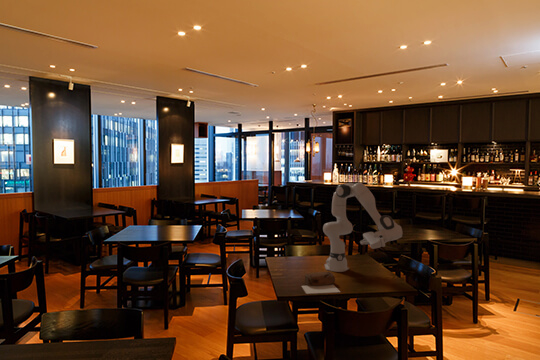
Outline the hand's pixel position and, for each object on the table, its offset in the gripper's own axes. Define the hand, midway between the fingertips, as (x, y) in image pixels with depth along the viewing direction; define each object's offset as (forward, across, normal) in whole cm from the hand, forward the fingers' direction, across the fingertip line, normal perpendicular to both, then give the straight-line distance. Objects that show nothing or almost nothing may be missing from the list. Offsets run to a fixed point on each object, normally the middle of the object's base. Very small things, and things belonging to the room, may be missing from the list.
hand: (360, 243), depth 242 cm
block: (+25, 0, +20) cm, 32 cm away
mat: (+36, +13, +18) cm, 42 cm away
